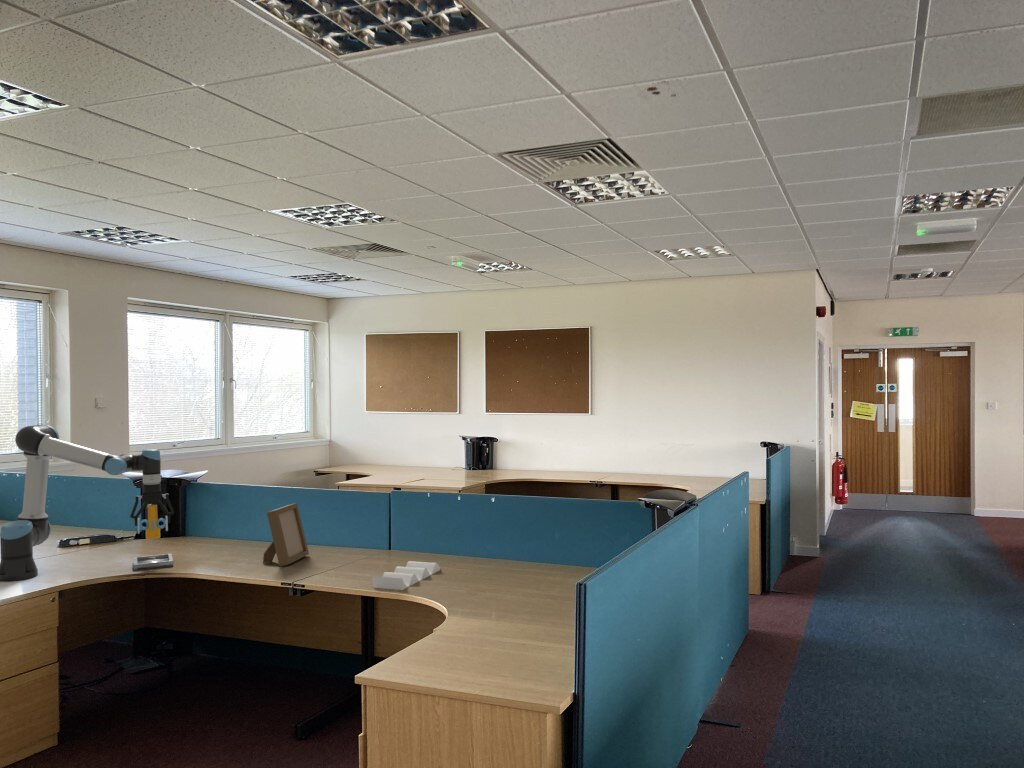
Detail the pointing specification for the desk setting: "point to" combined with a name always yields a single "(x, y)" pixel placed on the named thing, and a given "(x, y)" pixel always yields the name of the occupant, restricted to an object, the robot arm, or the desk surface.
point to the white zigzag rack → (405, 575)
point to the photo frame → (286, 536)
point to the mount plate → (153, 561)
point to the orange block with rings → (152, 523)
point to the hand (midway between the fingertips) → (152, 531)
